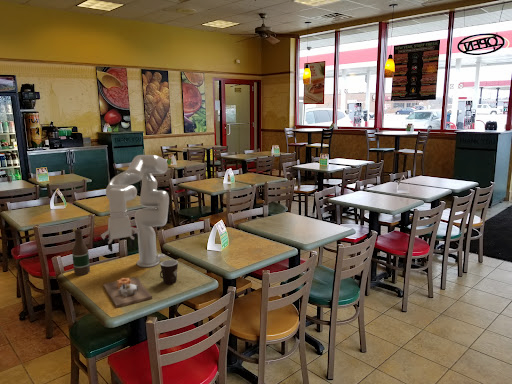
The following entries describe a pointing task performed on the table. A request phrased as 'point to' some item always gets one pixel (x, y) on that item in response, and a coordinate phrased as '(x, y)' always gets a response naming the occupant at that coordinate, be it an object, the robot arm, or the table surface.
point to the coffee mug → (169, 271)
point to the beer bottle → (80, 255)
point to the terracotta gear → (123, 282)
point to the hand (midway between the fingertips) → (121, 248)
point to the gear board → (130, 298)
